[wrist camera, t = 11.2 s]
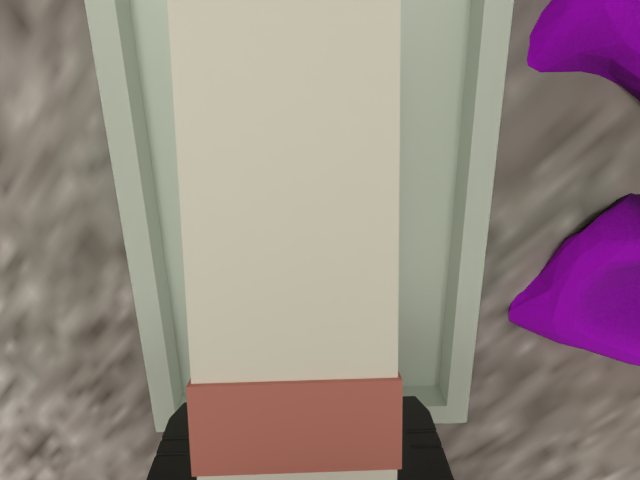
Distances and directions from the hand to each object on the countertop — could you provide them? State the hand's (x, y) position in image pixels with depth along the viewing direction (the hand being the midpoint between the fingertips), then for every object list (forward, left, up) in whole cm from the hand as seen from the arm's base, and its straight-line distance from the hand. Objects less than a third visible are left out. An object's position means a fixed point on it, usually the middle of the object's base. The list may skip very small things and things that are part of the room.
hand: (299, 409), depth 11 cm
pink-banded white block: (0, -3, -2) cm, 4 cm away
